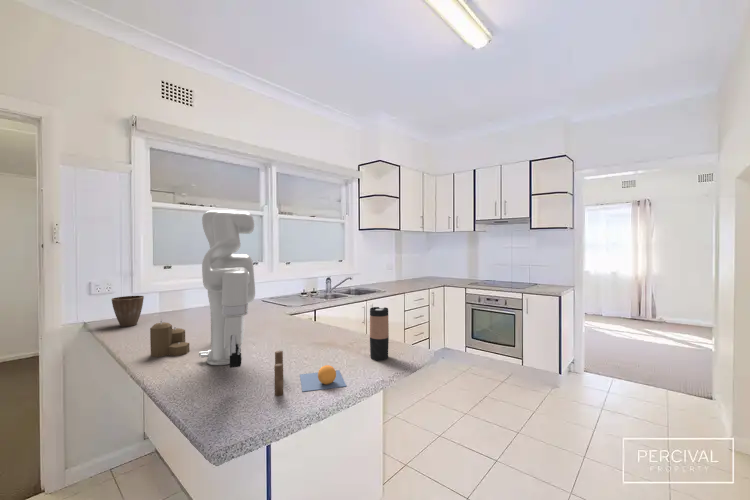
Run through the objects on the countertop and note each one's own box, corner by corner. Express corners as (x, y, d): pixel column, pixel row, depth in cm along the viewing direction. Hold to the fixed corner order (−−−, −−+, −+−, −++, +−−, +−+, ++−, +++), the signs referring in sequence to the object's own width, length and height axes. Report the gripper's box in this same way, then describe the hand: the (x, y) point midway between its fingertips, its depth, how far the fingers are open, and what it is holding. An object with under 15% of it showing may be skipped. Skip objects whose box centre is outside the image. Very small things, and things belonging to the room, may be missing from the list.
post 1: (275, 379, 114) (274, 353, 114) (275, 376, 117) (275, 351, 116) (283, 378, 115) (282, 352, 115) (283, 375, 117) (282, 350, 117)
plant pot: (104, 328, 185) (104, 299, 185) (128, 321, 200) (128, 295, 200) (128, 329, 183) (127, 300, 182) (150, 322, 197) (150, 295, 197)
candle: (153, 360, 134) (153, 323, 133) (147, 352, 144) (147, 317, 143) (191, 352, 143) (191, 317, 142) (183, 345, 153) (183, 313, 152)
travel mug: (375, 362, 130) (375, 311, 130) (366, 356, 137) (366, 307, 137) (392, 359, 134) (392, 309, 133) (383, 353, 141) (382, 306, 140)
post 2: (274, 396, 101) (274, 367, 101) (274, 392, 104) (274, 364, 104) (283, 395, 102) (283, 366, 102) (283, 391, 105) (283, 363, 104)
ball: (339, 376, 108) (327, 391, 107) (339, 370, 114) (328, 384, 113) (325, 364, 108) (313, 379, 107) (326, 359, 114) (314, 373, 113)
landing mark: (302, 391, 105) (302, 391, 105) (299, 375, 118) (299, 374, 118) (346, 386, 108) (346, 385, 108) (339, 370, 122) (339, 370, 122)
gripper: (226, 304, 112) (226, 358, 113) (218, 316, 97) (218, 377, 98) (249, 303, 114) (250, 356, 115) (245, 314, 99) (245, 375, 101)
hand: (235, 366), depth 107 cm, fingers closed
